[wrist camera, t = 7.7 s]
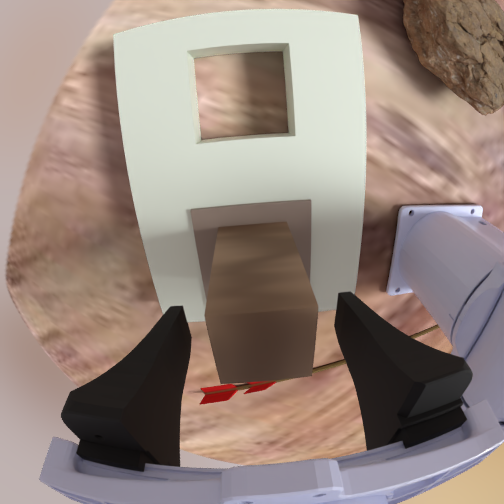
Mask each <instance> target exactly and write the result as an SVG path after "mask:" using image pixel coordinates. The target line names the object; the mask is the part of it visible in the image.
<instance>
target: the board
mask: <svg viewBox="0 0 504 504" xmlns="http://www.w3.org/2000/svg"><path fill="white" fill-rule="evenodd" d="M113 39H114V61H115V76H116V88H117V99H118V108H119V117H120V125H121V132H122V139H123V146H124V152H125V158H126V164H127V170H128V176H129V181H130V186H131V192H132V197H133V202H134V206H135V211H136V216H137V220H138V224H139V229H140V233H141V237H142V241H143V245H144V249H145V253H146V257H147V261H148V265H149V268H150V272H151V276H152V279H153V283H154V286H155V290H156V293H157V296H158V300H159V303H160V306H161V309H162V313H163V315H164V313H165V312H166V311H167V310H168V309H169V307H170V306H183V308H184V312H185V315H186V319H187V322H202V321H205V317H204V315H205V308H206V301H207V295H208V288H209V282H210V275H211V269H212V263H213V257H214V251H215V245H216V239H217V233H218V227H225V226H237V225H249V224H261V223H274V222H287V224H288V226H289V229H290V231H291V234H292V236H293V239H294V242H295V244H296V247H297V249H298V252H299V255H300V257H301V260H302V263H303V265H304V268H305V271H306V273H307V276H308V279H309V281H310V284H311V287H312V290H313V292H314V295H315V298H316V301H317V304H318V312H320V311H328V310H336V308H337V300H338V293H341V292H349V291H351V292H352V293H353V294H354V295H355V289H356V282H357V274H358V266H359V258H360V249H361V239H362V228H363V215H364V200H365V180H366V99H365V80H364V66H363V54H362V44H361V35H360V27H359V19H358V15H353V14H346V13H338V12H329V11H317V10H301V9H252V10H236V11H224V12H215V13H207V14H200V15H193V16H187V17H181V18H176V19H171V20H166V21H161V22H157V23H153V24H148V25H144V26H141V27H137V28H133V29H130V30H126V31H123V32H120V33H116V34H113ZM281 51H283V60H284V72H285V85H286V100H287V115H288V133H277V134H259V135H246V136H234V137H224V138H214V139H206V140H201V132H200V122H199V112H198V102H197V91H196V80H195V68H194V58H201V57H208V56H217V55H226V54H237V53H252V52H281Z"/></svg>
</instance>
